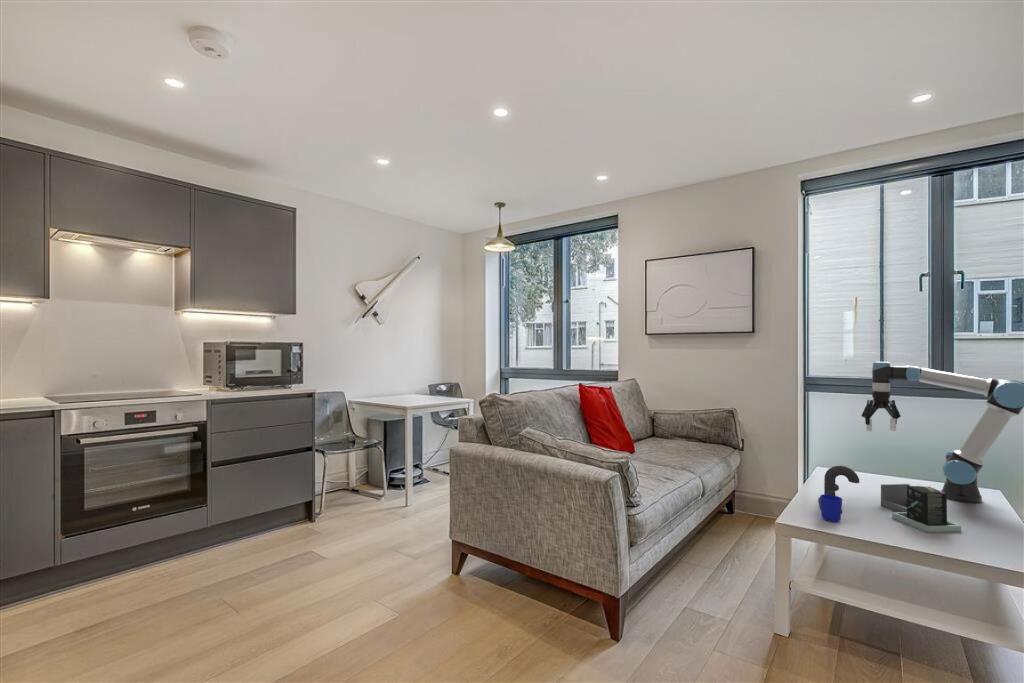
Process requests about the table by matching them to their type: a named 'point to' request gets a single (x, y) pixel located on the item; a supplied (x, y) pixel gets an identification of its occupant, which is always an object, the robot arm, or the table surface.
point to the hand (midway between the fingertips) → (881, 430)
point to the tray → (929, 529)
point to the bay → (894, 496)
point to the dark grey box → (927, 505)
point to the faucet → (831, 476)
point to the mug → (831, 507)
